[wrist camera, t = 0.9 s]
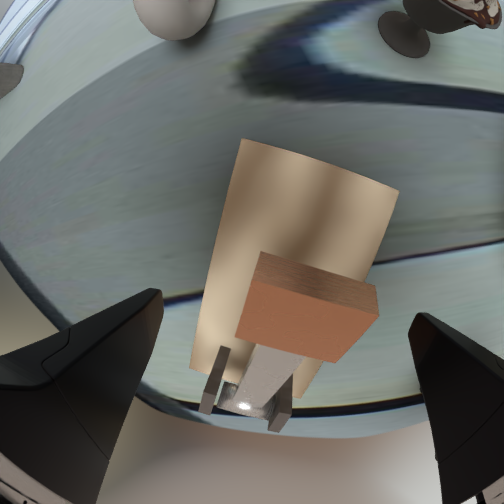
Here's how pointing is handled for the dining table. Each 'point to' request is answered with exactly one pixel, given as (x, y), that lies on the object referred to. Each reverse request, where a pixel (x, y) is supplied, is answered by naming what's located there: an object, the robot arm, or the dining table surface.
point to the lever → (294, 327)
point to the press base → (282, 251)
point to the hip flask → (9, 77)
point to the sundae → (434, 22)
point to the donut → (174, 16)
